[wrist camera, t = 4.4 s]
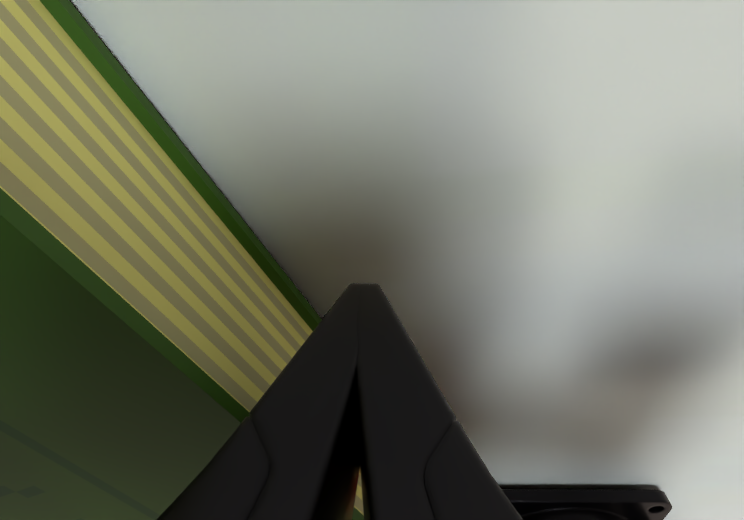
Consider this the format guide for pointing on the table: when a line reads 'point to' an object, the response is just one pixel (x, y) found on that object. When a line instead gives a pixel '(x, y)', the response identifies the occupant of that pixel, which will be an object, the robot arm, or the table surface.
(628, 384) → the table surface
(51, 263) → the hardcover book
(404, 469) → the robot arm
